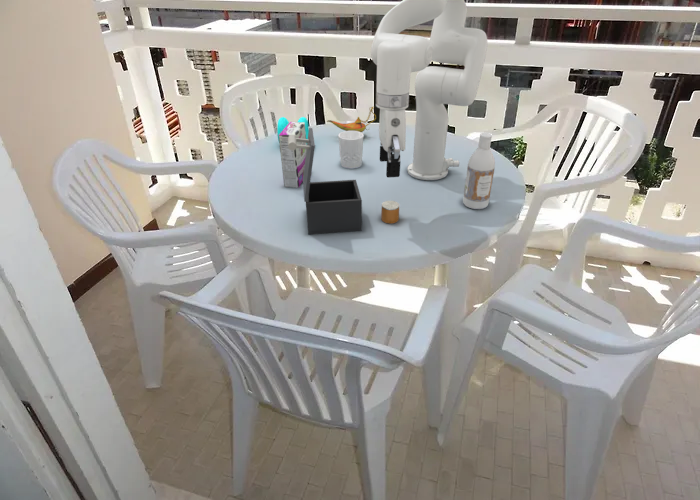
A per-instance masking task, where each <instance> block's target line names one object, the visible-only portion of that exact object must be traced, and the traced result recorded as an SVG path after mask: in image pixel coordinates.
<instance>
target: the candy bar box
mask: <svg viewBox="0 0 700 500" xmlns="http://www.w3.org/2000/svg"><path fill="white" fill-rule="evenodd" d="M289 135H295V136H296V138H301V139H306V132H305V123H304V122H298V121H289V124H288V125H287V126H286V127H285V128H284V130H283V131H282V132H281V133H280V134H279V135H278V134H277V137H278V136H279V141H278V144H279V153H280V162H281V169H282V177H283V187H284V188H292V189H300V187H301V186H302V185H303V174H304V166H305V158H306V149H302V148H296V149H295V150H290V149H289V148H288V137H289ZM297 144H299V145H307V144H306V143H304V142H297Z"/></svg>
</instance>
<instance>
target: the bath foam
mask: <svg viewBox="0 0 700 500" xmlns="http://www.w3.org/2000/svg"><path fill="white" fill-rule="evenodd" d="M492 137H493V136H492V134H491V133H489V132H482V133H480V134H479V138H478V147H477V148H476V149H475V150H474V151H473V152H472V154H471V155H470V156H469V159H468V161H467V166H466V167H467V168H466V174H465V182H464V190H463V198H462V203H463V205H464V206H465V207H467V208H469V209H473V210H482V209H485V208H487V207H488V206H489V203H490V198H491V193H492V187H493V186H492V185H493V179H494V175H495V174H494V173H495V168H496V160H495V156H494V153H493V152H492V150H491V143H492Z"/></svg>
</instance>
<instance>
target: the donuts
mask: <svg viewBox="0 0 700 500" xmlns="http://www.w3.org/2000/svg"><path fill="white" fill-rule="evenodd" d="M297 122H304V123H305V132H306V139H308V133H309V128H310V127H309V120H308V118H306V117H305V116H301V117H299V119H298V120H297ZM289 123H290V121H289V120H288V119H287V118H286V117H285V116H281V117H279V118H278V120H277V124H276V125H277V126H276V131H277V140H278V142H279V136H278V135H279V134H280V133H281V132H282V131H283V130H284V128H285V127H286V126H287V125H288V124H289ZM306 144H307V143H306Z"/></svg>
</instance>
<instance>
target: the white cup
mask: <svg viewBox="0 0 700 500" xmlns="http://www.w3.org/2000/svg"><path fill="white" fill-rule="evenodd" d="M338 149H339V158H340V165H341V167H342V168H344V169H352V170H353V169H358V168H360V167H362V164H363V154H364V133H363V132H359V131H345V130H343V131H341V132H339V133H338Z"/></svg>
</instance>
